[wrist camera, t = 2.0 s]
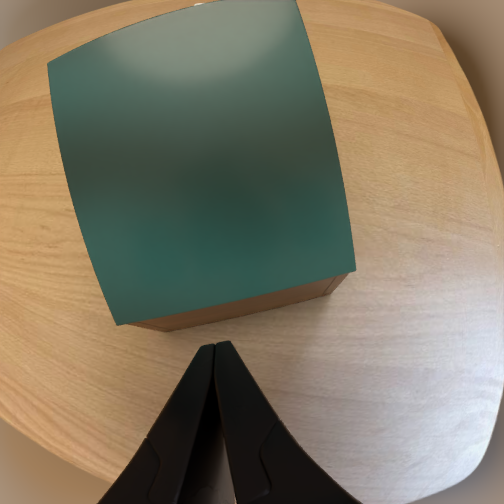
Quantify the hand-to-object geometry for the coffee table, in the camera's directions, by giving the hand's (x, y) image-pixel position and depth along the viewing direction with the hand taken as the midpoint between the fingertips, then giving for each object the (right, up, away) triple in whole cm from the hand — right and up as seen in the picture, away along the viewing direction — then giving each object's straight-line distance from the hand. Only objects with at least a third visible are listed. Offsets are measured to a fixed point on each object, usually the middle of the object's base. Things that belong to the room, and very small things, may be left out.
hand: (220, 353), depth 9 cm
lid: (-2, +7, +5) cm, 9 cm away
